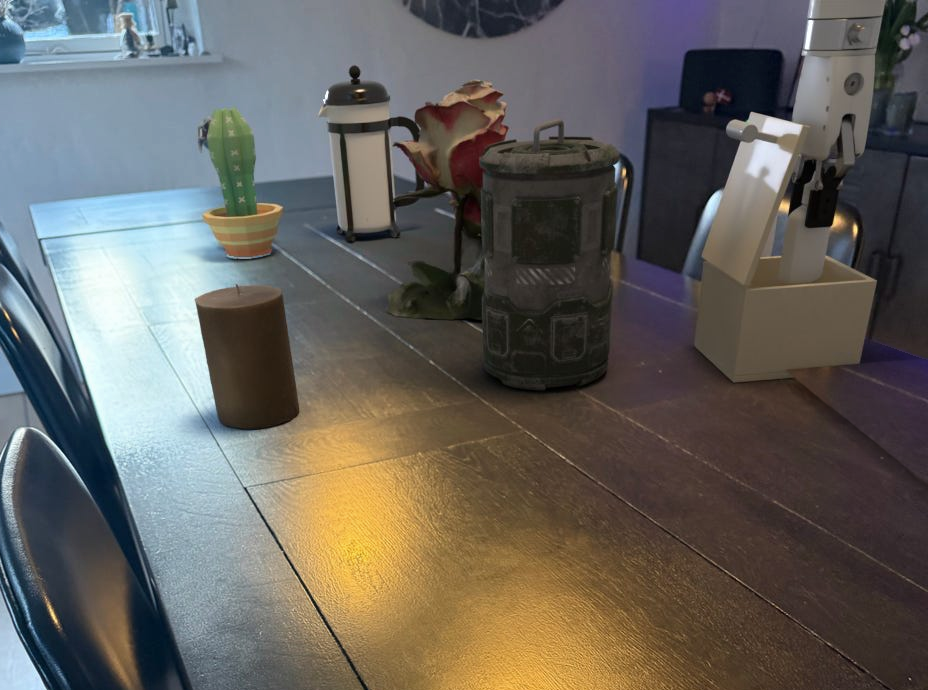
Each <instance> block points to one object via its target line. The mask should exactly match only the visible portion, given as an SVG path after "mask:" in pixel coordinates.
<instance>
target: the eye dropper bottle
mask: <svg viewBox="0 0 928 690" xmlns="http://www.w3.org/2000/svg"><path fill="white" fill-rule="evenodd" d="M815 173H816V171H815V172H814V175H813V178H812V180H811V181H810V182H809V183H807V184H805V185H804V191H803V197H802V205H801V206H800V207H798V208H797V209H795V210H794V211H793V212H792V213H791V214H790V215H789V217H788V216H787V220H786V225H785V231H784V238H783V244H782V249H781V255H780V256H781V262H780V268H779V274H778V281H780V282H782V283H786V284H791V285H796V284H805V283H810V282H814V281H816V280H818V279H820V278H821V276H822V272H823V267H824V261H825V256H826V255H827V249H828V244H829V239H830V232H831V227H832V226H831V227H822V228H807V227H805V219H806V213H807V207H808V201H809V195H810V190H815V188H814V184H815Z"/></svg>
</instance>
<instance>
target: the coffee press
mask: <svg viewBox="0 0 928 690" xmlns="http://www.w3.org/2000/svg"><path fill="white" fill-rule="evenodd" d="M361 72H362V71H361V68H360V67H359V66H358V65H351V66H350V67H349V69H348V75H349V77H350V78H351V79H350V80H349V81H341V82H337V83H334V84H332V85H330V87H328V89H327V90H326V93H325V97H324V98H323V99H322V100H323V105H321V108H320V109H319V112H318V113H317V114H318V115H317V116H318V118H327V120H326V129H327V132H328V138H329V147H330V158H331V165H332V166H331V168H332V174H333V175H332V177H333V186H334V195H335V206H336V214H337V223H338V225H337V227H336V233H337V234H339V235H343V234H344V233H345V241H346V242H347V243H355V241H356V239H357V236H359V235H360V234H370V233H378V232H386V233H388V234H389V235H390V236H391V238H393V239H396V238H399V237H400V236H401V234H402V233H401V230H400V229H399V227H398V225H397V209H398V208H400V207H401V208H402V207H406V206H411V205H414V204H415V203H416V202H418V201H419V200H420V199H421V198H404V199H400V200H397V201H394V200H393V198H394V197H395V196H396V191H395V180H394V179H395V177H394V164H393V150H392V149H393V148H392V146H393V145H392V134H391V129H392V127H398V128H399V127H400V128H401V127H402V128H406V129H407V130H408V131H409V132H410V135H411V137H412V141H416V142H419V137H420V136H421V135H419V134H418V133H419V132H420V130H421V129H420V127H419V125H418V124H416V123H415V121H414V120H413V119H411V118H409V117H406V116H403V115H402V116H401V115H400V116H399V115H398V116H394V117H390V106H389V105H390V103H391V95H390V94H389V93H388V90H387V88H386V87H385V85H383V84H382V83H381V82H378V81H375V80H374V81H373V80H361V79H360V76H361ZM414 175H415V187H414V189H413V191H419V190H423V189H425V186H426V185H425V184H426V182H425V181H424V180H423V179H421V178H420V176H419V174H418V172H417V170H416V169H415V168H414ZM367 218H368V220H367ZM392 228H393V230H394V231H395V232H394V231H393V230H392ZM395 233H396V234H395Z"/></svg>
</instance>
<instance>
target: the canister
mask: <svg viewBox="0 0 928 690" xmlns="http://www.w3.org/2000/svg"><path fill="white" fill-rule="evenodd" d="M564 124H565V123H564V120H563V119H562V118H556V119H553V120H548V121H546V122H542V123H540V124H537V125H536V126H535V127H534V131H533V140H525V141H524V140H523V141H517V139H516V138H513V139H507V140H505V141H502V142H497V143H494V144H491V145H489V146H487V147H486V148H485V149H484V151H483V154H482V156H481V157H480V158H479V164H480V167H481V168H482V169H484V170H485V171H484V172H483V187H482V188H481V223H482V251H483V253H484V257H485V289H484V293H483V296H482V320H481V321H482V322H481V325H482V327H481V328H482V355H483V367H484V369H485V371H486V372H487V373H488V374H490V375H491V376H493V377H495V378H497V379H498V380H500V381H501V383H502V385H504V386H506V387H510V388H515V389H520V390H527V391H544V392H545V391H546V389H548V388H558V387H568V386H573V385H576V387H581V386H585V385H587V384H589V383H591V382H594V381H596V380H598V379H600V377H602V376H603V375H604V373H605V372H606V370H607V369H608V366H609V356H610V346H611V345H610V344H611V330H612V329H611V325H612V311H613V310H612V309H613V293H614V291H613V289H614V282H613V280H612V279H611V265H612V264H611V263H612V252H613V251H614V249H615V246H616V245H615V243H616V225H617V224H616V223H617V206H618V192H619V191H618V190H619V189H618V188H619V186H618V183H617V182H616V171H617V169H616V167H615V165H617V164H618V163H619V162H620V155H621V154H620V152H619V150H618V149H617V147H616V146H615V145H614V144H612V143H610V144H609V143H607V142H604V141H599V140H595V139H594V138H593V137H591V136H575V135H574V136H571V135H568V136H565V125H564ZM555 127H557V129H558V130H557V136H556V135H555V136H548V139H540V133H541V132H542V131H544V130H548V129H551V128H555Z"/></svg>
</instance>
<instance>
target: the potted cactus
mask: <svg viewBox="0 0 928 690" xmlns="http://www.w3.org/2000/svg"><path fill="white" fill-rule="evenodd" d="M195 137H196V138H195V139H196V142H197V146H198V149H199V153H200V154H202V153H203V147H204V149H205V150H207V151H209V152H208V153H209V156H210V160H211V163H212V165H213V167H214V169H215V171H216V174H217V176H218V179H219V185H220V189H221V192H222V197H223V200H224V205H222V206H219V207H214V208H210V209H207V210H205V211H204V212H203V213H202V214H201V217H202V219H203V221H204V223H205V224H207V225H208V226H209V228H210V230H211V232H212V234H213V237H214V238H215V240H216V241H217V242H218V243H219V244H220V246H222V247H223V249H224V250H225V251H226V252H225V253H226V254H228V255H229V256H234V257H253V256H258V255H264V254H267V253H270V252H271V251H272V252H273V249H272V244H273V243H274V240H275V238H276V236H277V234H278V229H279V222H280V219H281V218H282V217H283V214H284V212H283V211H284V207H283V206H281V205H279V204H277V203H263V202H257V194H256V183H255V168H256V167H255V166H256V160H257V155H256V146H255V145H256V144H255V135H254V131H253V130H252V129H251V127H250V125H249V123H248V122H247V120H246V119H245V118H244V117H243V115H242V114H241V112H240V111H239V110H238V109H237V107H233V108H231V109H228V108H226V107H223V108H222V109H220V110H219V109H217V108H215V109H214V110H213V112H212V115H211V116H210V115H207V116H205V117H204V118H202V120H201V121H200V122H199V124H198V126H197V130H196V136H195ZM226 254H225V255H226Z"/></svg>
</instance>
